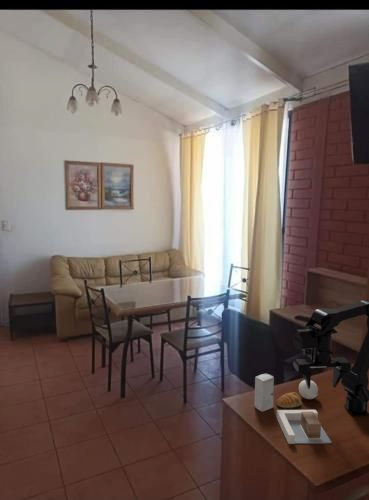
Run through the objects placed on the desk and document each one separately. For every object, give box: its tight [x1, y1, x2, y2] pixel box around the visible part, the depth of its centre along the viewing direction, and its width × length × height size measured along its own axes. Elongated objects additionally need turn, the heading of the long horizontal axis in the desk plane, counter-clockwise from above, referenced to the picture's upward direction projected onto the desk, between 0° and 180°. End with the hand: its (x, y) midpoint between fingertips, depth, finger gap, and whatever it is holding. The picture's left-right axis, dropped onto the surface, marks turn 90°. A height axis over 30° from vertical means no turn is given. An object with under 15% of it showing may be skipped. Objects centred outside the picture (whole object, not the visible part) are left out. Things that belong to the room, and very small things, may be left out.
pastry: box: [275, 391, 303, 409], centre depth 137 cm, size 9×7×4 cm
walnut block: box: [301, 412, 322, 438], centre depth 119 cm, size 7×4×5 cm, turn 1°
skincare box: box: [254, 373, 275, 413], centre depth 134 cm, size 6×4×12 cm
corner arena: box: [276, 409, 333, 445], centre depth 121 cm, size 14×14×3 cm
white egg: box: [298, 379, 320, 400], centre depth 141 cm, size 10×7×7 cm
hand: (321, 387), depth 126 cm, fingers open, 9 cm apart
